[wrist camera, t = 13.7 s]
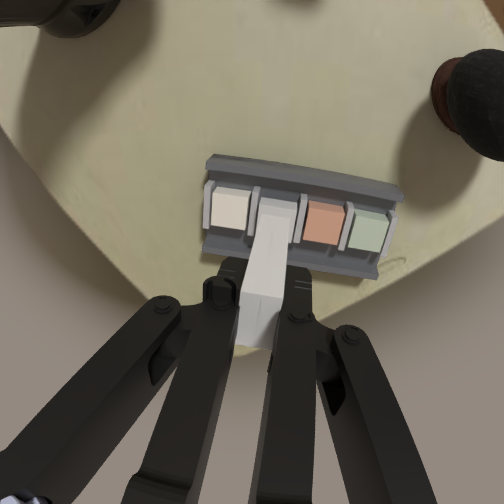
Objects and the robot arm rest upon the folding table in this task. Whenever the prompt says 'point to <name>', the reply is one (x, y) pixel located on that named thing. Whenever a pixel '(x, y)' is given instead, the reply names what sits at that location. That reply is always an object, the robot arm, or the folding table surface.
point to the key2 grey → (278, 211)
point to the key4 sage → (367, 230)
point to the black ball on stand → (473, 100)
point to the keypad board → (300, 211)
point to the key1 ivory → (230, 208)
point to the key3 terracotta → (323, 222)
